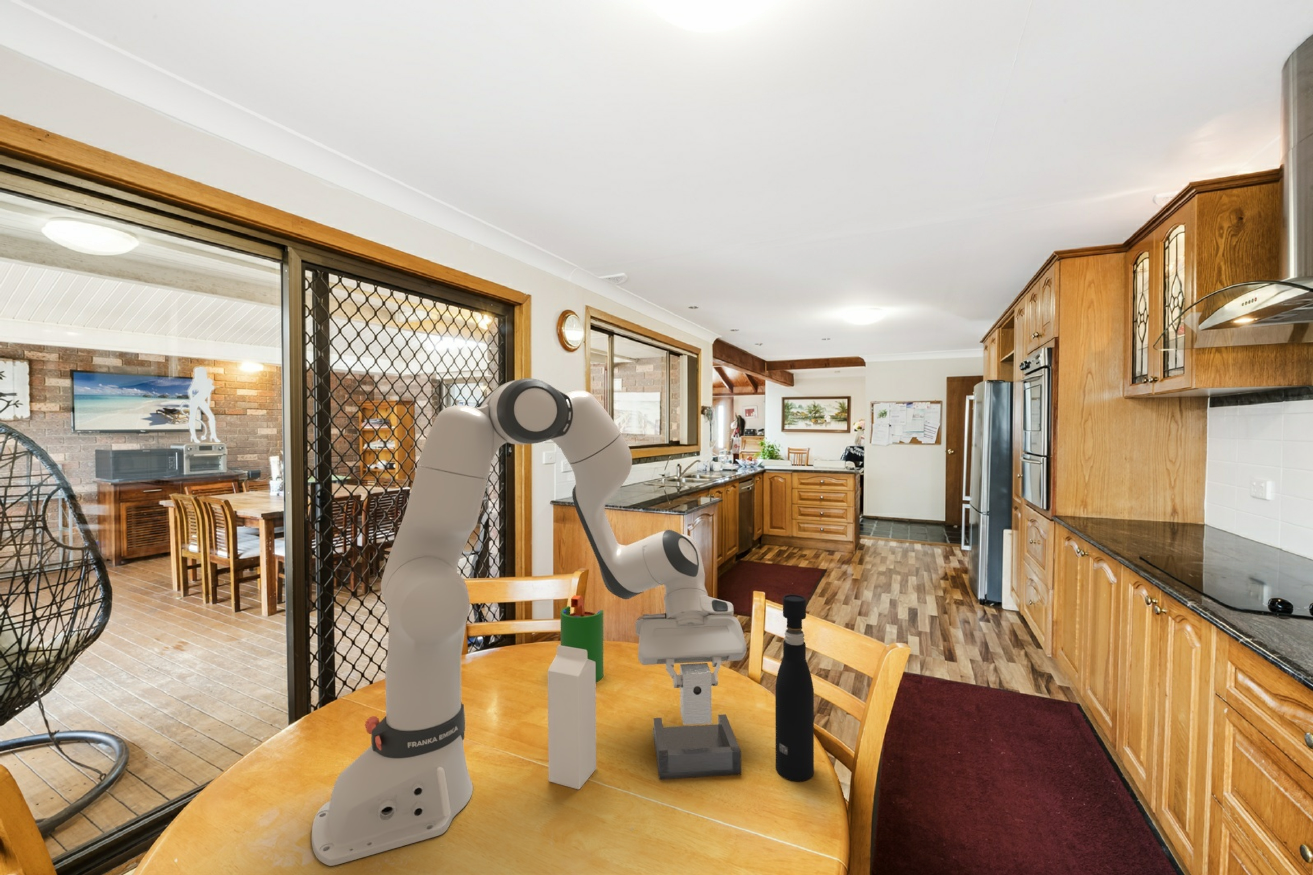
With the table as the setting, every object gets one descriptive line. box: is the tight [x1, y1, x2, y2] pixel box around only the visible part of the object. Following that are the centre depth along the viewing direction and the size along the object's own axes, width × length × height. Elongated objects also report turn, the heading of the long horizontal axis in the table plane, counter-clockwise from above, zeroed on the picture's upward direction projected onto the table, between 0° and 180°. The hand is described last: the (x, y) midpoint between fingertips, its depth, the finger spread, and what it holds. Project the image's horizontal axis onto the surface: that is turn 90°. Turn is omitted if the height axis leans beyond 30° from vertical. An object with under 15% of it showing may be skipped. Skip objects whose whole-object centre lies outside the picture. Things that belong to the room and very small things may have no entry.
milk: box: [547, 644, 597, 790], centre depth 92 cm, size 6×6×22 cm
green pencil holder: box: [560, 594, 604, 683], centre depth 129 cm, size 10×9×20 cm
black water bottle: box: [774, 594, 815, 783], centre depth 93 cm, size 6×6×30 cm
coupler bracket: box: [652, 714, 742, 780], centre depth 99 cm, size 14×14×4 cm
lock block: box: [679, 662, 713, 726], centre depth 97 cm, size 4×5×9 cm
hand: (696, 685), depth 96 cm, fingers closed on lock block, 5 cm apart
